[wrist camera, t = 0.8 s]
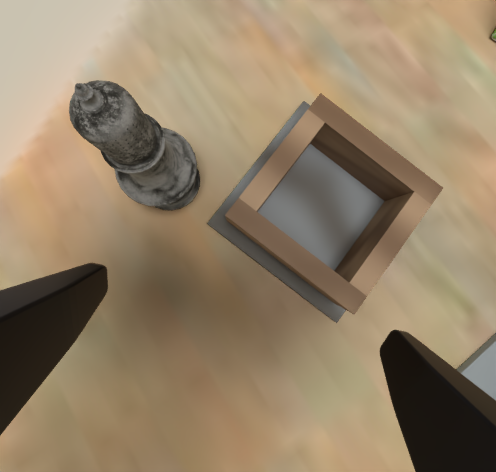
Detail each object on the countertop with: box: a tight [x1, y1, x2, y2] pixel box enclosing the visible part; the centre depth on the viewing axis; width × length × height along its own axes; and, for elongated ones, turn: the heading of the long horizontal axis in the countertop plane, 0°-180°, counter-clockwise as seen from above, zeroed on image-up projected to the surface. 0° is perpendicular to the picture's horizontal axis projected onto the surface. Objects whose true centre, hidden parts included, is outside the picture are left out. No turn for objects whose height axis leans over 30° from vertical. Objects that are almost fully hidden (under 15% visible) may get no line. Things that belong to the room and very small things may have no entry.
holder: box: [207, 93, 443, 323], centre depth 19 cm, size 14×14×4 cm
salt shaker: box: [69, 80, 200, 210], centre depth 15 cm, size 6×6×12 cm
